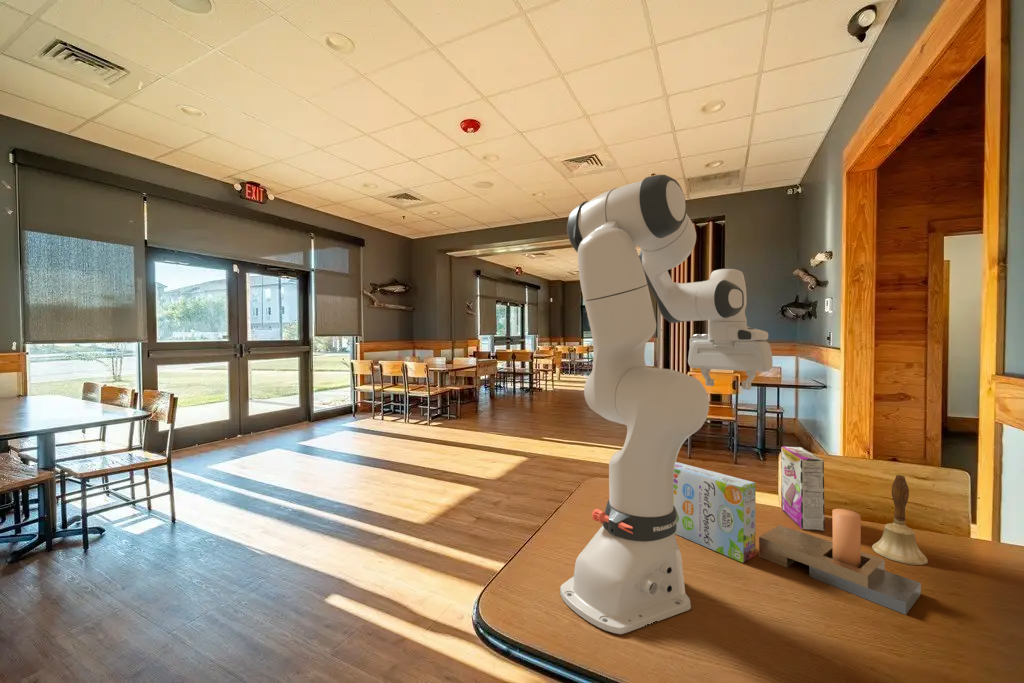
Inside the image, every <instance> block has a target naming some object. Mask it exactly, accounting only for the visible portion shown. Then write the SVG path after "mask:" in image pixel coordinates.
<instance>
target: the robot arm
mask: <svg viewBox="0 0 1024 683" xmlns="http://www.w3.org/2000/svg"><path fill="white" fill-rule="evenodd" d="M566 233H567V237H568V240H569V243H570V244H571V246H572V247H573V249H574V250H575V251H576V253H577V266H578V267H577V268H578V275H579V282H580V283H579V284H580V288H581V289H580V290H581V293H582V298H583V302H584V307H585V310H586V313H587V314H586V315H587V320H588V325H589V329H590V332H591V337H592V345H593V346H592V347H593V349H592V350H593V355H592V356H593V357H592V359H593V360H592V370H591V372H590V374H589V375H588V376H587V379H586V380H585V383H584V390H583V394H584V395H583V396H584V399H585V403H586V404H587V405H588V407H589V408H590V409H591V411H593V412H594V413H596V414H597V415H599V416H600V417H602V418H604V419H605V420H607V421H609V422H613V423H616V424H621V425H624V426H626V429H627V430H626V437H625V440H624V444H623V446H622V448H621V449H620V450H618V451H616V452H615V453H613V454H612V456H611V457H610V459H609V463H608V490H609V491H608V492H609V493H608V494H609V499H608V500H607V501H606V505H605V510H604V511H603V510H601V509H599V508H594V509H593V510H592V513H591V514H592V515H591V517H592V518H591V519H593V520H594V521H595V522H599V523H600V524H601V526H600V528H599V529H598V530H597V532H596V533H595V534H594V535H593V537H592V538H591V539H590V541H589V542H588V543H587V544H586V545H585V547H584V548H583V550H581V552H580V553H579V554H578V556H577V557H576V559H575V564H574V571H573V576H571V577H570V578H569V579H568V580H566V581H565V582H564V583H563V582H562V584H561V585H560V587H559V589H560V590H559V593H560V596H561V599H562V600H563V601H564V603H565V604H566V605H567V606H568V607H569V608H570V609H571V610H572V611H573V612H575V614H577V615H578V616H580V617H581V618H582V619H584V620H586V621H587V622H589V624H592V625H594V626H595V627H597V628H599V629H601V630H604V631H606V632H609V633H613V634H617V635H624V634H627V633H630V632H632V631H635V630H638V629H641V628H643V627H646V626H648V625H647V624H649V625H651V623H652V624H654V623H653V622H655V621H657V622H660V621H662V620H665V619H669V618H671V617H673V616H675V615H676V616H677V615H678V614H682V613H684V612H688V611H690V610H691V609H692V605H691V599H690V597H689V596H688V595H687V593H686V587H685V577H684V570H683V569H684V568H683V559H682V558H683V557H682V553H681V552H682V551H681V550H680V547H679V545H678V542H677V539H676V534H675V531H676V529H677V527H676V523H677V516H676V508H675V507H674V505H673V493H674V468H675V462H677V458H678V455H679V452H680V450H681V448H682V446H683V444H684V442H685V441H687V439H688V438H690V437H691V436H692V435H693V434H695V433H698V431H699V430H700V429H701V428H702V427H703V425H704V424H705V422H706V420H707V418H708V416H709V410H710V400H709V395H708V392H707V390H706V388H705V386H707V387H714V386H715V379H714V378H712V377H711V375H710V373H711V370H722V371H723V370H724V371H741V372H743V371H745V376H747V377H746V380H745V381H741V390H747V391H748V390H751V389H752V383H753V381H754V379H755V378H756V376H757V372H761V373H764V372H766V373H767V372H770V371H771V369H772V368H773V351H772V348H771V344H770V343H769V342H768V341H767V340H769V332H768V331H766V330H762V329H758V328H754V327H750V326H748V321H747V320H748V319H747V316H746V308H747V302H748V300H747V296H748V295H747V286H746V280H745V276H744V273H743V271H741V270H739V269H735V268H718V269H716V270H712V271H711V273H710V276H709V279H707V280H702V281H693V282H685V283H684V282H675V281H673V280H672V278H671V275H670V273H669V270H672V269H674V268H676V267H678V266H679V265H681V264H682V263H684V262H685V261H686V260H687V258H689V256H690V255H691V253H692V251H694V248H695V245H696V241H697V231H696V227H695V225H694V224H693V222H692V219H691V218H690V217H689V216H688V214H687V203H686V198H685V194H684V192H683V189H682V186H681V185H680V184H679V182H678V181H677V180H676V179H675V178H673V177H671V176H669V175H666V174H655V175H652V176H647V177H645V178H644V179H642V180H639V181H636V182H633V183H628V184H626V185H623V186H620V187H615V188H612V189H609V190H607V191H605V192H603V193H601V194H599V195H597V196H596V197H593V198H592V199H590V200H586V201H583V202H582V203H580V204H579V205H577V206H576V207H575V208H573V209H572V210H571V212H570V213H569V216H568V219H567V223H566ZM637 247H639V249H640V251H639V253H638V251H637V250H638V249H637ZM649 289H650V290H649ZM650 291H651V293H652V295H653V297H654V299H655V300H656V303H657V307H658V311H659V313H660V315H661V316H662V317H663V318H664V320H666V321H667V322H669V323H671V324H676V323H685V322H697V321H698V322H699V321H701V322H702V321H707V325H708V326H707V330H708V332H707V333H702V334H700V333H695V334H693V335H692V336H691V337H690V338H689V350H688V357H687V363H688V366H689V367H690V368H692V369H700V374H701V375H702V376H703V378H704V382H705V383H704V384H705V386H704V384H703V383H702V382H701V381H700V380H699V379H697V378H696V377H693V376H692V375H688V374H686V373H684V372H680V371H679V370H678V371H677V370H675V369H670V368H659V367H650V366H647V365H646V362H645V351H646V344H647V343H648V341H650V340H651V339H652V338H653V336H654V334H655V333H656V330H657V321H656V315H655V311H654V306H653V303H652V298H651V294H650ZM655 623H656V622H655ZM645 625H646V626H645Z"/></svg>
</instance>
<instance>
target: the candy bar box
mask: <svg viewBox="0 0 1024 683" xmlns="http://www.w3.org/2000/svg"><path fill="white" fill-rule="evenodd" d="M780 452H781V453H780V455H781V456H780V457H781V461H780V462H781V464H780V465H781V510H782V511H783V512H784V513H785V514H786V515H787V516H788V517H789V518H790V519H791V520H792V521H793V522H794V523H795V524H796V525H798V527H799V528H800V529H801V530H803V529H805V530H806V531H815V530H816V531H818V532H825V531H826V530H825V529H826V528H825V526H826V525H825V524H826V523H825V518H826V517H825V460H824V459H822V458H821V457H819V456H817V455H815V454H814V453H812V452H810V451H809V450H807V449H805V448H803V447H801V446H781V448H780ZM805 530H804V531H805Z"/></svg>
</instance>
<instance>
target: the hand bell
mask: <svg viewBox="0 0 1024 683" xmlns="http://www.w3.org/2000/svg"><path fill="white" fill-rule="evenodd" d="M909 497H910V489H909V486H908V482H907V481H906V477H905V476H904V475H900V474H896V475H895V478H894V480H893V481H892V485H891V498H892V501H893V503H894V514H893V522H890V523H886V524H884V528H883V533H882V536H881V538H880V539H879V540H878V541H877V542H874V543H873V544H872V546H871V549H872V550H873V551H874V552H875V553H876V554H878V555H879V556H882V557H884V558H886V559H887V560H891V561H894V562H896V563H902V564H905V565H912V566H923V565H927V564H928V563H929V560H928V558H927V556H926V555H925V554H924V553H923V552H922V551H921V549H920V548H919V545H918V544H917V540H916V536H915V531H914V530H913V529H912V528H911V527H909V526H907V525H906V506H907V504H908V502H909Z"/></svg>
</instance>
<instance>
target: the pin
mask: <svg viewBox="0 0 1024 683" xmlns="http://www.w3.org/2000/svg"><path fill="white" fill-rule="evenodd" d="M831 514H832V518H831V519H832V529H831V530H832V542H833V559H834V560H837V561H840V562H843V563H845V564H848V565H851V566H854V567H857V568H861V552H862V550H861V549H862V546H861V545H862V544H861V537H862V536H861V535H862V533H861V531H862V530H861V529H862V528H861V527H862V526H861V523H862V522H861V518H862V517H861V514H860V513H858V512H856V511H852V510H850V509H845V508H833V509H832V513H831Z"/></svg>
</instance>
